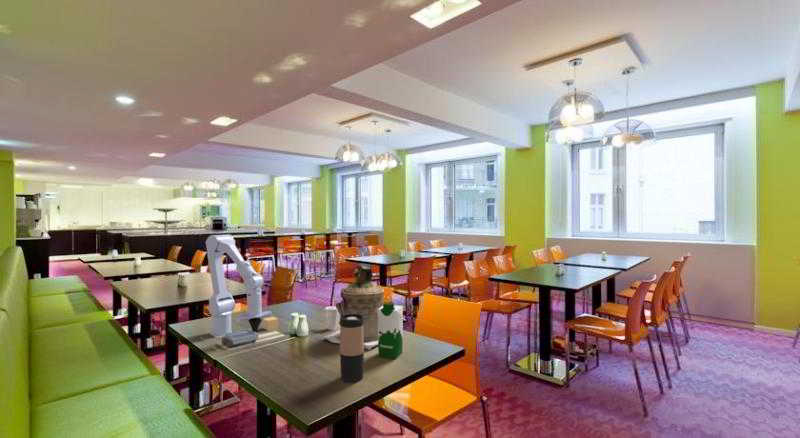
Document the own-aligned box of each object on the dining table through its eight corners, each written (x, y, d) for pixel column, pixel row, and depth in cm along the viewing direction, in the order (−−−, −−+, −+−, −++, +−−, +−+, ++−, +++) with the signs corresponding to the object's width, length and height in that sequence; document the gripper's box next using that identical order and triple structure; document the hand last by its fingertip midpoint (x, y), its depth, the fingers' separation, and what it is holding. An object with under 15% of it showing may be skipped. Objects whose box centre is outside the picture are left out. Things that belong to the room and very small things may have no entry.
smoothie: (336, 331, 177) (336, 300, 177) (323, 330, 179) (322, 299, 178) (341, 327, 184) (341, 297, 183) (328, 326, 185) (328, 296, 185)
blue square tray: (224, 341, 162) (224, 333, 162) (248, 336, 169) (248, 328, 169) (233, 347, 155) (233, 339, 155) (258, 342, 162) (258, 333, 162)
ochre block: (263, 329, 181) (263, 318, 181) (273, 327, 184) (273, 316, 184) (267, 331, 177) (267, 320, 177) (278, 329, 181) (278, 318, 181)
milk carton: (375, 357, 146) (375, 303, 145) (384, 349, 154) (384, 298, 154) (397, 360, 143) (397, 305, 142) (405, 351, 151) (405, 300, 151)
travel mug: (340, 373, 131) (340, 314, 131) (363, 372, 132) (363, 313, 131) (339, 383, 124) (339, 320, 123) (363, 382, 124) (363, 319, 124)
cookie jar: (400, 334, 173) (400, 261, 172) (370, 351, 152) (369, 269, 151) (355, 326, 185) (354, 258, 184) (320, 341, 164) (319, 265, 163)
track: (216, 343, 161) (216, 337, 161) (274, 330, 178) (274, 325, 178) (227, 351, 152) (227, 345, 152) (287, 337, 169) (287, 332, 169)
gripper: (240, 308, 158) (241, 342, 158) (274, 302, 167) (275, 334, 168) (234, 305, 163) (234, 337, 163) (267, 299, 173) (268, 330, 173)
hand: (254, 335), depth 166 cm, fingers closed, pressing on blue square tray
